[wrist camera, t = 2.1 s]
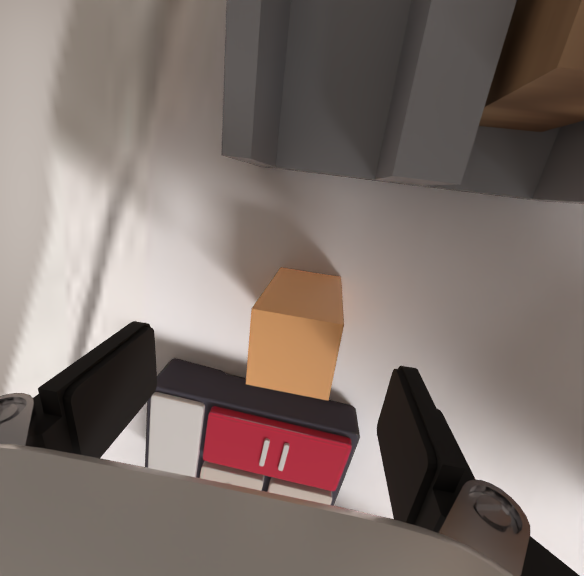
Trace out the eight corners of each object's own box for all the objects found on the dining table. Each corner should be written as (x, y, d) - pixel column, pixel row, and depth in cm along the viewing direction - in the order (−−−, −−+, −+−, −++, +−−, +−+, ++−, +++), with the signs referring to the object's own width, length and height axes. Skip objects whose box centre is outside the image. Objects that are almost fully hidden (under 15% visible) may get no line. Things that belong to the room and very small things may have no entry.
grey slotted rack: (644, -43, 12) (908, -241, 7) (544, 201, 16) (662, 208, 10) (274, -61, 14) (232, -235, 8) (258, 165, 17) (220, 155, 11)
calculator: (323, 546, 22) (137, 501, 23) (322, 491, 26) (165, 453, 27) (363, 444, 19) (140, 391, 19) (356, 398, 23) (171, 355, 23)
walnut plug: (579, 29, 12) (850, -149, 6) (540, 132, 14) (726, 81, 7) (483, 22, 13) (637, -152, 6) (454, 123, 14) (557, 67, 8)
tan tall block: (341, 276, 19) (344, 324, 12) (330, 331, 20) (328, 400, 13) (280, 267, 19) (251, 308, 12) (274, 321, 20) (245, 384, 14)
